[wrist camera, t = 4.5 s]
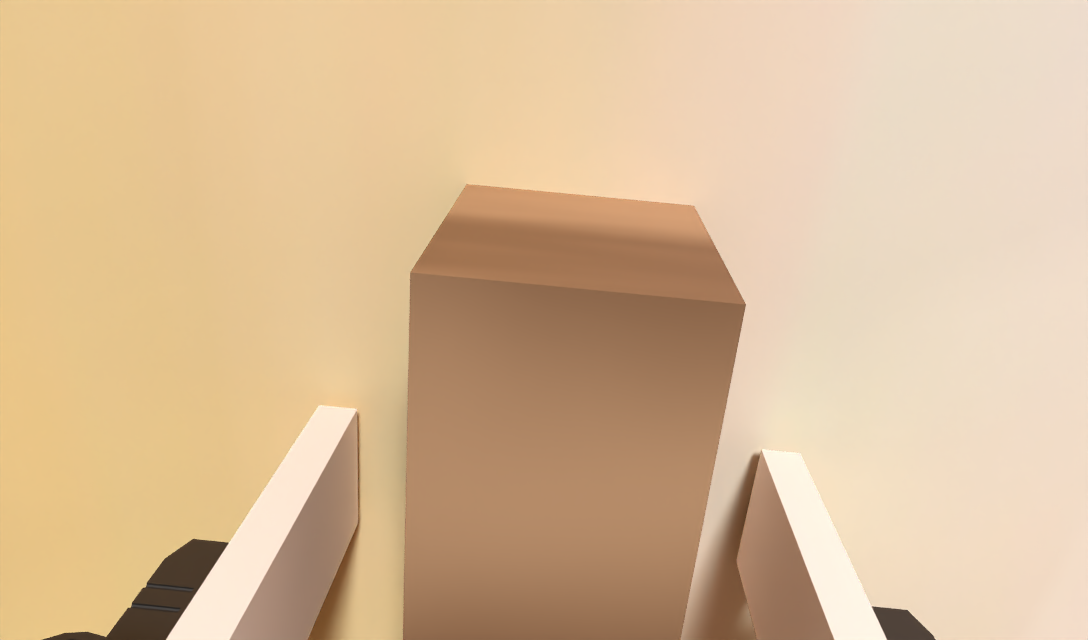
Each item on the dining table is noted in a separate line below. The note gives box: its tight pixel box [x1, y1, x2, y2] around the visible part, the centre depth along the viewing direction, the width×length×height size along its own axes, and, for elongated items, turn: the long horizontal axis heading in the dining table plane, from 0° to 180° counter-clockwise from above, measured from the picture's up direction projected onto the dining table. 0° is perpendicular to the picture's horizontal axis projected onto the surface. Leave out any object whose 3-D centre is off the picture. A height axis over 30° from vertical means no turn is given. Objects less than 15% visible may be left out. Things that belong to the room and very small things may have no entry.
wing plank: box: [403, 184, 746, 640], centre depth 14 cm, size 12×4×5 cm, turn 175°
